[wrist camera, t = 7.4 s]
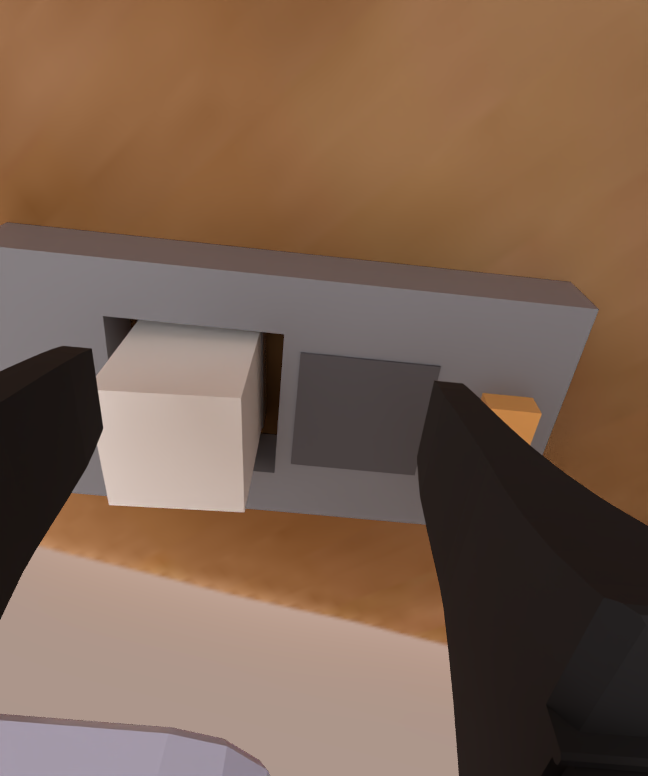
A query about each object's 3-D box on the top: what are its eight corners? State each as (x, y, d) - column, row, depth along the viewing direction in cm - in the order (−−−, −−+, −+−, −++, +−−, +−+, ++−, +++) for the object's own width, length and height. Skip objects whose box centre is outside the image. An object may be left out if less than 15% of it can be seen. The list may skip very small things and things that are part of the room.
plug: (266, 312, 21) (242, 396, 16) (266, 411, 23) (246, 513, 18) (146, 305, 21) (83, 387, 16) (159, 405, 23) (107, 505, 18)
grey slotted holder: (570, 281, 20) (612, 322, 17) (497, 491, 25) (519, 550, 22) (6, 222, 19) (-55, 253, 16) (51, 450, 24) (11, 505, 21)
